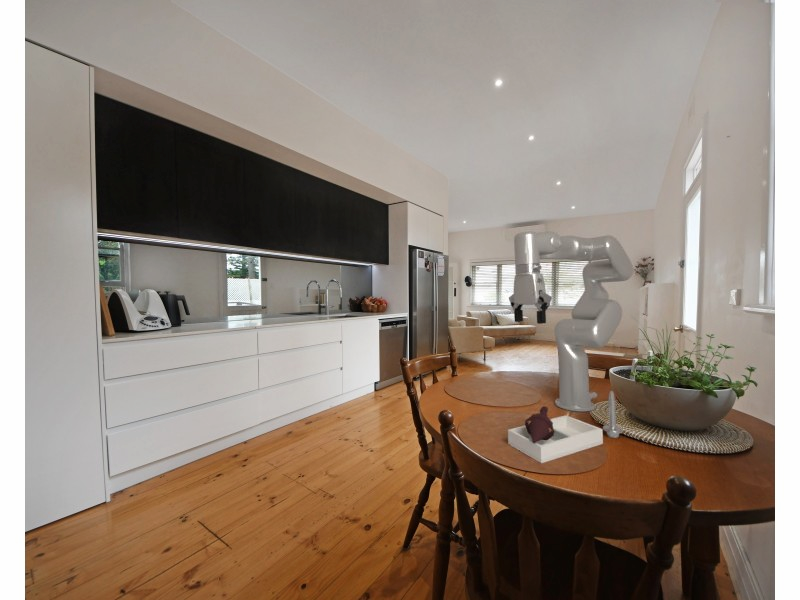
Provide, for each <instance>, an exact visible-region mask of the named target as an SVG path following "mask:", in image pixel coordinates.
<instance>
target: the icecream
mask: <svg viewBox="0 0 800 600" xmlns="http://www.w3.org/2000/svg"><path fill="white" fill-rule="evenodd" d="M548 412H549V408H548V407H547V406H542V407H541V408H540V410H539V413H535V414H531V415H530V416H529V417H528V418H527V419H526V420H524V426H526V429H527V432H528V433H529V434H530V435H531V437H532V441H533V443H536V442H538V441H540V440H549V439H550V438H551V437H552V436H554V433H555V431H554V429H553V422H552V421H551V420H550V419H551V418H549V417H548Z"/></svg>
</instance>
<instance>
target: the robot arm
mask: <svg viewBox="0 0 800 600" xmlns="http://www.w3.org/2000/svg"><path fill="white" fill-rule="evenodd" d="M513 244H514V245H513V247H514V265H515V266H514V269H515V270H514V271H515V275H514V281H513V293H512V294H511V295H510V296H509V297H508V301H509V302H510V306H511V307H512V310H513V314H514V323H519V322H523V321H524V315H523V314H524V311H523V306H535V308H536V309H537V311H536V323H537V324H538V325H539V324H540V325H541V324H546V323H547V313H546V311H548V308H549V307H550V306H551V301H552V299H553V297H552V295H549V294H548V293H547V291H546V289H547V288H546V284H545V279H544V275H543V273H541V270H542V265H541V264H540V263H541V260H556V261H557V260H560V261H561V260H569V261H570V260H571V261H577V262H579V261H580V262H588V263H587V264H585V265H584V267H583V269H582V280H583V284H584V285H583V286H584V291H583V293H582V295H581V296H580V298H579V299H578V300H577V302H576V303H575V305H574V307H573V308H572V310H571V318H565V319H561V320H559V321H558V322H556V324H555V325H554V330H553V333H554V339H555V341H556V347H557V354H558V355H557V357H558V358H557V359H558V387H559V391H558V392H559V398H556V399H555V401H554V404H555V405H556V407H558V408H560V409H563V410H567V411H571V412H590V411H594V409H595V408H596V407H595V404H594V403H593V402H592V400H593V399H595V398H597V397H598V393H596V392H594V391H593V392H590V379H589V376H590V375H589V358H588V355H587V352H586V351H585V349H584V348H591V349H601V348H604V347H605V346H607V344H608V343H609V342H610V340H611V338H612V336H614V335H613V334H614V333H615V332H616V330H617V328H618V327H619V325H620V324H621V321H622V317H623V310H622V306H621V304H620V302H618V301H616V300H614V299H611V298H610V296H609V293H608V291H607V289H606V288H605V287H604V286H603V284H602V283H614V282H617V283H618V282H625V281H628V280H630V279H631V278H632V277H633V275H634V267H633V262H632V261H631V260H630V257H629V255H628V254H627V252H626V251H625V248H624V247H623V246H622V244H621V243H620V241H619V240H618V239H617V237H614V236H612V235H609V234H607V235H602V236H596V237H595V236H594V237H589V238H588V237H581V236H575V235H562V236H560V235H559V234H558V233H556V232H554V231H543V232H536V231H524V232H523V231H522V232H519V233H516V234H515V235H514V238H513Z"/></svg>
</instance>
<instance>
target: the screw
mask: <svg viewBox="0 0 800 600" xmlns="http://www.w3.org/2000/svg"><path fill="white" fill-rule="evenodd" d="M616 403H617V402H616V400H615V393H614V391H613V390H611V391H609V394H608V403H607V404H608V405H607V406H608V407H607V410H608V424H605V425H603V426H602V431H605V432H606V436H608V437H609V438H613V439H617V438H619V437H620V434H622V433H624V430H623V428H622V427H620V426H618V425H617V417H616V416H617V415H616V414H617V409H616V408H617V405H616Z"/></svg>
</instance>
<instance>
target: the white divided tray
mask: <svg viewBox="0 0 800 600" xmlns="http://www.w3.org/2000/svg"><path fill="white" fill-rule="evenodd" d="M549 419H550V420H551V421H552V422H553V429H554V431H555V433H554V436H552V437H551V438H550V439H549V440H540V441H538V442H536V443H533V441H532V437H531V435H530V434H529V433H528V432H527V429H526V426H525V425H522V426H518V427H514V428H510V429H507V440H508V441H507V442H508V443H507V444H508V445H509V444H510V445H509V446H510V447H513V448H515V449H516V450H518V451H519V450H520V451H519V452H522V453H523V454H524V455H526V456H528V457H530V458H532V459H533V460H535V461H537V462H538V463H540V464H544V463H547V462H551V461H553V460H557V459H559V458H562V457H566V456H569V455H572V454H575V453H577V452H581V451H584V450H588V449H590V448H594V447H597V446H600V445H603V444H604V441H603V440H604V438H603V437H604V436H603V431H604V430H603V428H600V427H597V426H595V425H592V424H590V423H588V422H584V421H582V420H579V419H577V418H574V417H571V416H569V415H562V416H558V417H553V418H549Z"/></svg>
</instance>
